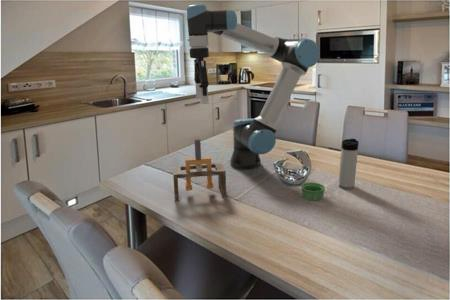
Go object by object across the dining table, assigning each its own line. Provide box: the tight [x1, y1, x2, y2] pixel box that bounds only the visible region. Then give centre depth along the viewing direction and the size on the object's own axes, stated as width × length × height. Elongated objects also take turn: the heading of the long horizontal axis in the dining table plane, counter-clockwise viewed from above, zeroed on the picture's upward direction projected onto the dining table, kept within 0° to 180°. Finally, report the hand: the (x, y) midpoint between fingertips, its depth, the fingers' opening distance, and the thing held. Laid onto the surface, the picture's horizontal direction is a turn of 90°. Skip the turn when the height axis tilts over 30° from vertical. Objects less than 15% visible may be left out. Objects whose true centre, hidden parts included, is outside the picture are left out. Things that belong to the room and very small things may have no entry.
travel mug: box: [338, 138, 359, 190], centre depth 144 cm, size 6×7×20 cm
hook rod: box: [195, 164, 203, 172], centre depth 138 cm, size 2×8×2 cm, turn 9°
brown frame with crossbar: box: [172, 162, 227, 202], centre depth 140 cm, size 20×10×11 cm, turn 99°
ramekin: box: [300, 181, 326, 202], centre depth 137 cm, size 9×9×4 cm
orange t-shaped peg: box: [184, 137, 215, 192], centre depth 138 cm, size 11×5×20 cm, turn 99°
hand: (202, 101), depth 144 cm, fingers open, 13 cm apart
